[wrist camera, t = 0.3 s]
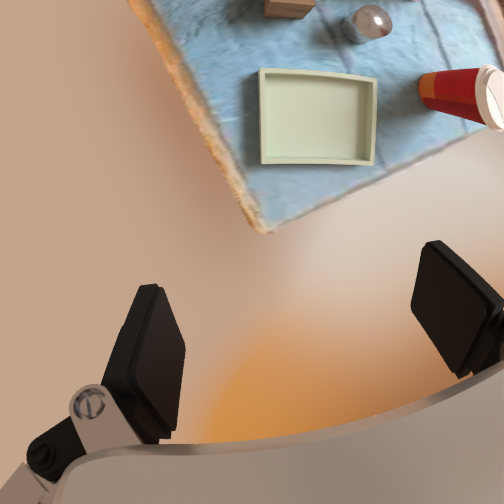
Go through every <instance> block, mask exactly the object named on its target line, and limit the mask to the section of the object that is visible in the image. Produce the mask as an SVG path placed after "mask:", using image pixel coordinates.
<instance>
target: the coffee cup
mask: <svg viewBox="0 0 504 504" xmlns="http://www.w3.org/2000/svg"><path fill="white" fill-rule="evenodd" d="M418 92H419V96H420V98H421V100H422V102H423V103H424V104H425V105H426V106H427V107H428V108H430V109H433V110H436V111H440V112H443V113H447V114H451V115H454V116H458V117H461V118H464V119H468V120H471V121H475V122H478V123H481V124H484V125H487V126H488V127H489V128H490V129H492V130H494V131H497V132H498V131H503V130H504V73H503V72H502V71H500V70H499V69H497V68H496V67H494V66H492V65H489V64H485V65H483V66H482V67H480V68H473V69H459V70H448V71H439V72H432V73H427V74H425V75H423V76H422V77H421V78H420V80H419V84H418Z"/></svg>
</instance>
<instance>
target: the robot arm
mask: <svg viewBox="0 0 504 504" xmlns="http://www.w3.org/2000/svg"><path fill="white" fill-rule="evenodd" d="M503 307H504V299H503V298H502V297H501V296H500V295H499V294H498V293H497V292H496V291H495V290H494V289H493V288H492V287H491V286H490V285H489V284H488V283H487V282H486V281H485V280H484V279H483V278H482V277H481V276H480V275H479V274H478V273H477V272H476V271H475V270H474V269H473V268H471V267H470V266H469V265H468V264H467V263H466V262H465V261H464V260H462V258H460V257H459V256H458V255H457V254H456V253H455V252H453V250H451V249H450V248H449V247H448V246H447V245H445V244H444V243H443V242H442V241H440V240H436V241H431V242H427V243H426V244H425V246H424V247H423V248H422V251H421V256H420V262H419V267H418V273H417V277H416V283H415V287H414V292H413V296H412V300H411V310H412V313H413V314H414V315H415V317H416V318H417V320H418V321H419V322H420V324H421V326H422V327H423V328H424V330H425V331H426V333H427V334H428V336H429V338H430V339H431V341H432V342H433V344H434V345H435V347H436V348H437V350H438V351H439V353H440V355H441V356H442V358H443V359H444V361H445V362H446V364H447V366H448V367H449V369H450V370H451V372H453V373H455V374H456V376H457V378H458V379H460V378H463V377H464V376H467V375H468V374H469V373H470V371H472V373H473V376H472V377H470V378H468V379H466V380H464V381H462V382H460V383H458V384H456V385H454V386H451V387H449V388H447V389H445V390H442V391H440V392H438V393H435V394H433V395H431V396H428V397H426V398H423V399H421V400H418V401H416V402H413V403H410V404H407V405H405V406H402V407H399V408H396V409H393V410H390V411H387V412H384V413H381V414H378V415H374V416H371V417H368V418H364V419H361V420H357V421H353V422H350V423H346V424H342V425H337V426H333V427H329V428H324V429H320V430H315V431H310V432H305V433H300V434H294V435H288V436H281V437H274V438H266V439H258V440H249V441H238V442H224V443H207V444H159V439H171V431H175V430H176V427H177V417H178V408H179V398H180V390H181V382H182V374H183V367H184V359H185V351H186V349H185V343H184V340H183V338H182V335H181V333H180V330H179V328H178V325H177V323H176V320H175V317H174V315H173V312H172V310H171V307H170V304H169V302H168V299H167V296H166V293H165V291H164V289H163V288H162V287H158V285H157V284H148V285H141V286H140V287H139V289H138V291H137V293H136V296H135V298H134V301H133V303H132V305H131V308H130V310H129V313H128V315H127V318H126V320H125V323H124V325H123V326H122V328H121V330H120V332H119V335H118V337H117V340H116V343H115V345H114V348H113V351H112V353H111V356H110V359H109V362H108V364H107V367H106V370H105V373H104V376H103V379H102V382H101V385H98V384H91V385H87V386H84V387H82V388H81V389H79V390H78V391H77V392H76V393H75V394H74V395H73V397H72V399H71V401H70V405H69V411H70V416H69V417H68V418H66V419H64V420H63V421H62V422H60V423H59V424H57V425H55V426H54V427H52V428H51V429H49V430H48V431H46V432H45V433H43V434H42V435H40V436H39V437H37V438H36V439H35V440H33V441H32V442H31V444H30V445H29V447H28V450H27V464H25V463H22V464H21V465H20V466H19V467H18V469H17V470H16V471H15V472H14V473H13V475H12V476H11V477H10V478H9V480H8V481H7V482H6V483H5V485H4V486H3V487H2V488H1V489H0V504H504V311H503Z"/></svg>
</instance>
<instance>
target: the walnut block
mask: <svg viewBox="0 0 504 504" xmlns="http://www.w3.org/2000/svg"><path fill="white" fill-rule="evenodd" d="M314 6H315V0H264V17H285V18H299V19H303V18H304V17H305V16H306V15H307V14H308V13H309V12H310V11H311V9H312V8H313V7H314Z"/></svg>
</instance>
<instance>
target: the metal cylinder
mask: <svg viewBox="0 0 504 504" xmlns="http://www.w3.org/2000/svg"><path fill="white" fill-rule="evenodd" d="M341 27H342V31H343V34H344V35H345V36H346V38H347V39H349V40H350V41H352V42H354V43H357V44H364V43H367V42H370V41H372V40H375V39H378V38H381V37H384V36H386V35H388V34H389V33H390V32H391V30H392V21H391V18H390V16H389V15H388V14H387V12H386V11H384V10H383V9H382V8H380V7H378V6H376V5H365V6H363V7H362V8H360V9H359V10H357V11H355V12H354V13H352V14H351V15H349V16H348V17H346V18H345V19H344V20H343V21H342V25H341Z"/></svg>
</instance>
